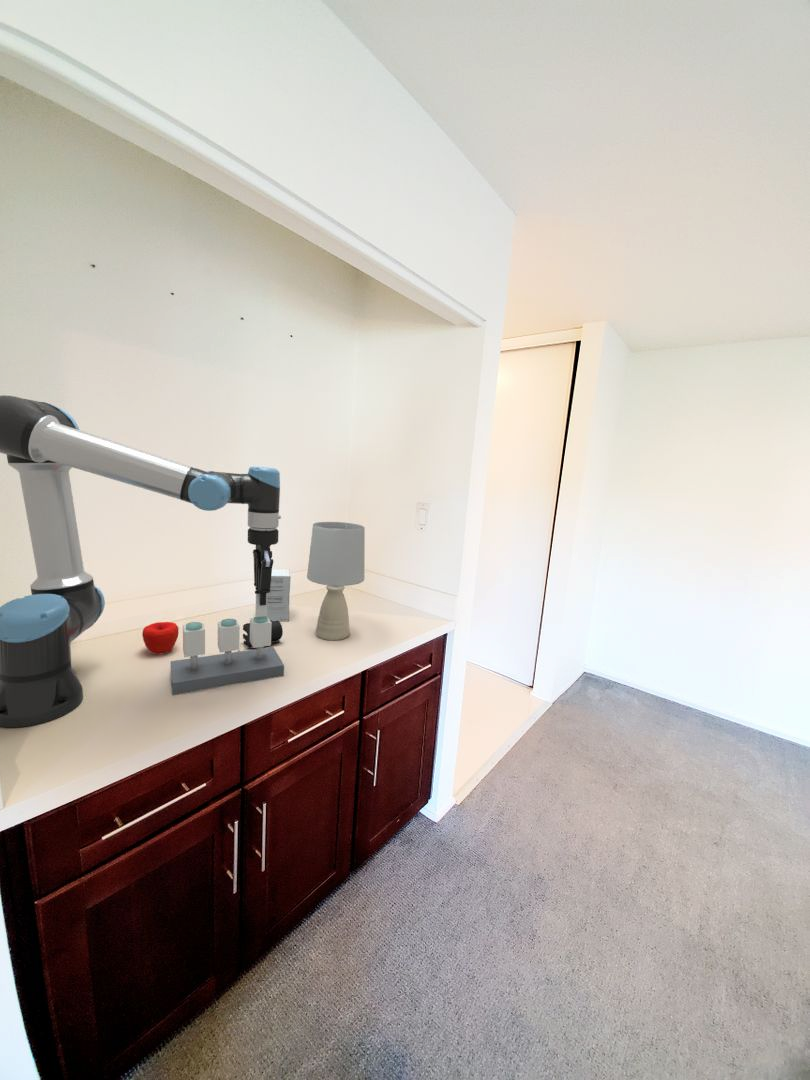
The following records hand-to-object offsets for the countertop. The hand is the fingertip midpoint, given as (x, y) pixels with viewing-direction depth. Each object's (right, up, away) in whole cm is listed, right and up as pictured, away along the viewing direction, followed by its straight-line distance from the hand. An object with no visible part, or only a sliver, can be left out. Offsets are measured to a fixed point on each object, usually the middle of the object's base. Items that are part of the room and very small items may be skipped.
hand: (261, 615), depth 113 cm
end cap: (-6, -12, +18) cm, 23 cm away
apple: (-31, -12, +8) cm, 34 cm away
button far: (-1, -8, +1) cm, 8 cm away
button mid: (-8, -8, -3) cm, 11 cm away
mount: (-8, -15, -1) cm, 17 cm away
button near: (-15, -8, -7) cm, 18 cm away
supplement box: (-9, -8, +40) cm, 42 cm away
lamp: (+14, -12, +30) cm, 35 cm away
